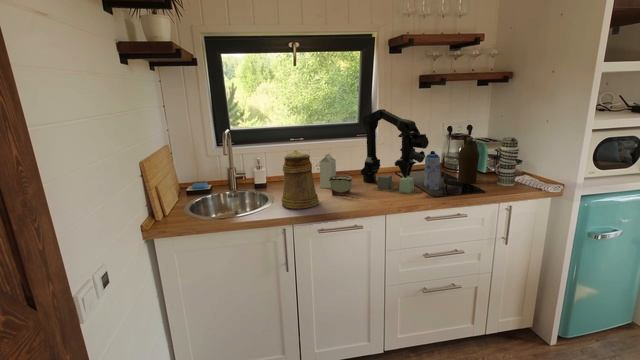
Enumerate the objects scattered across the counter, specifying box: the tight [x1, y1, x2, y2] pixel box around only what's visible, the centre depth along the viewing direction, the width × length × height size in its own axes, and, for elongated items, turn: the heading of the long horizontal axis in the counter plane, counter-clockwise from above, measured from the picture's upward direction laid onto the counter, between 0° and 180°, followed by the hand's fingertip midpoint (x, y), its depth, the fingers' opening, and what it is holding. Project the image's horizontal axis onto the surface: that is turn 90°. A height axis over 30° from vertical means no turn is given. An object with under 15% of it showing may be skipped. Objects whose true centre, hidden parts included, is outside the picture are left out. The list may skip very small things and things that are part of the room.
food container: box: [329, 174, 353, 198], centre depth 181 cm, size 12×6×10 cm, turn 71°
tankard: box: [281, 149, 320, 210], centre depth 170 cm, size 18×24×25 cm
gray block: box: [377, 174, 393, 190], centre depth 185 cm, size 6×6×7 cm
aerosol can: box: [423, 150, 441, 191], centre depth 185 cm, size 8×8×20 cm
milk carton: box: [318, 152, 337, 189], centre depth 196 cm, size 7×7×19 cm
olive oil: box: [457, 136, 480, 185], centre depth 193 cm, size 11×11×25 cm
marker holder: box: [371, 185, 421, 196], centre depth 182 cm, size 22×12×7 cm, turn 56°
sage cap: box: [398, 176, 415, 193], centre depth 178 cm, size 6×6×7 cm
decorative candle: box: [496, 136, 520, 187], centre depth 185 cm, size 9×9×25 cm
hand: (406, 176), depth 177 cm, fingers open, 4 cm apart
